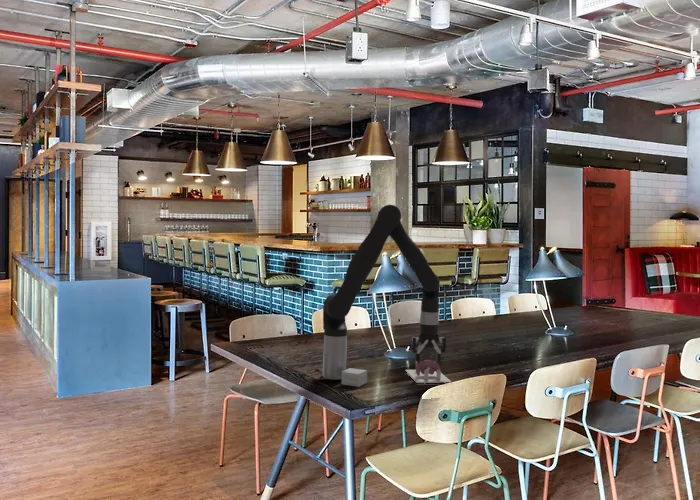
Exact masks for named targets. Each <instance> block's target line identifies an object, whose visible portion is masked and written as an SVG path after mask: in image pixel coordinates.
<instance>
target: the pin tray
mask: <svg viewBox="0 0 700 500" xmlns="http://www.w3.org/2000/svg"><path fill="white" fill-rule="evenodd" d="M416 364H417V361H416V360H415V365H416ZM429 369H430V368H426V370H424V374H422V373H421V372H420V375H419V376H418V375H417V373H416V369H405V371H406V372H407V373H406V372H405V373H406V375H407V376H408V377H409V376H410V377H411V378H412V379H413V380H414V381H415V382H416V383H424V384H423V385H426V384H425V383H440V382H444V383H446V382H451V383H452V381H451V380H450V379H449V378H448V377H447V376H446V375H444V374H443V373H442V371H441V369H440V370H437V372H436V371H435V372H434V374H433V375H431V374H429ZM410 377H409V378H410ZM411 378H410V379H411ZM412 379H411V380H412ZM413 380H412V381H413ZM414 381H413V382H414ZM415 382H414V383H415ZM416 383H415V384H416Z"/></svg>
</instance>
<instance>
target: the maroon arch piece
mask: <svg viewBox="0 0 700 500" xmlns="http://www.w3.org/2000/svg"><path fill="white" fill-rule="evenodd" d="M427 368H430V369H429V374H431V375H433V374H434V372H435V371H436V372H437V370H441V367H440V364H439V363H437V362H436V360H431V359H424V360H420V363H417V364H416V363H415V370H416V373H417V375H418V376H419V375H420V372H421V373H422V374H424V370H427Z"/></svg>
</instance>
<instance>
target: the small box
mask: <svg viewBox="0 0 700 500" xmlns="http://www.w3.org/2000/svg"><path fill="white" fill-rule="evenodd" d="M367 383H368V370H367V369H360V368H352V367H349V368H346V370H344V371H342V379H341V385H345V386H351V387H356V388H357V387H358V388H360V387H361V386H363V385H365V384H367Z"/></svg>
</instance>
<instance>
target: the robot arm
mask: <svg viewBox="0 0 700 500" xmlns="http://www.w3.org/2000/svg"><path fill="white" fill-rule="evenodd" d="M377 213H378V214H377V217H376V219H375V222H374V223H373V226H372V228H371V230H370V231H369V233H368V234H367V236H365V238H364V240H363V241H362V242H361V243H360V245H359V246H358V248H357V249H356V250H355V253H354V254H353V255H352V258H351V260H350V261H349V263H348V265H347V269H346V272H345V276H344V279H343V281H342V283H341V285H340V287H339V289H338V291H337V292H336V293H335V294H334V293H333V294H330V295H328V296H327V297H326V298H325V300H324V301H323V307H322V308H323V309H322V324H323V325H322V326H323V331H324V332H323V334H324V335H323V352H322V377H323V378H322V379H323V380H334V381H335V380H336V381H337V380H342V371H344V370H347V354H348V353H347V350H348V349H347V348H348V347H347V346H348V328H347V324H346V317H347V316H348V314H349V313H350V310H352V306H353V304H354V302H355V300H356V298H357V295H358V293H359V291H360V290H361V288H362V286H364V283H365V282H366V280H367V278H368V276H369V275H370V274H371V272H372V270H373V269H374V267H375V265H376V263H377V261H378V260H379V257H380V255H381V253H382V251H383V248H384V246H385V244H386V242H387V240H388V238H389V237H391V239H392V241H393V242H394V243H395V245H396V246H397V248H398V249H399V250H400V252H401V254H402V256H403V257H404V259H405V261H406V262H407V264H408V265H409V267H410V268H411V270H412V271H413V272H414V274H415V275H416V279H418V281H419V284H420V285H421V287H422V297H421V304H420V306H421V307H420V315H419V316H420V317H419V336H418V337H417V336H416V337H415V336H411V342H410V343H411V345H410V346H411V347H410V351H411V352H413V353H415V358H414V360H415V362H416V361H417V363H420V361H421V360H420V359H421V352H422V350H423V349H424V348H427V349H428V348H429V349H431V348H432V349H435V351H436V352H435V353H436V354H435V361H436V362H437V363H438V364H439V363H440V362H441V356H442V354H443V353H446V350H447V349H446V346H447V345H446V344H447V339H446V338H445V337H444V336H441V337H439V323H440V321H439V320H440V315H439V314H440V313H439V309H440V308H439V307H440V306H439V303H440V302H439V293H440V284H441V283H440V282H441V281H440V278H439V276H438V275H437V274H436V273H435V272H434V271H433V270H432V268H431V267H430V264H429V262H428V260H427V258H426V257H425V255H424V254H423V252H422V250H421V249H420V247H419V246H418V245H417V244H416V243H415V242H414V241H413V239H412V238H411V237H410V235H409V234H408V233H407V232H406V230H405V229H404V226H403V224H402V222H401V220H402V219H401V218H402V214H401V211H400V208H399V207H398V206H396V205H395V204H386V205H384V206H382V207H381V208H380V209H379V211H378V212H377ZM418 341H419V345H418V346H417V344H416V343H418ZM438 342H440V344H441V345H440V348H439V346H438V344H437V343H438ZM416 346H417V348H416Z"/></svg>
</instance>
